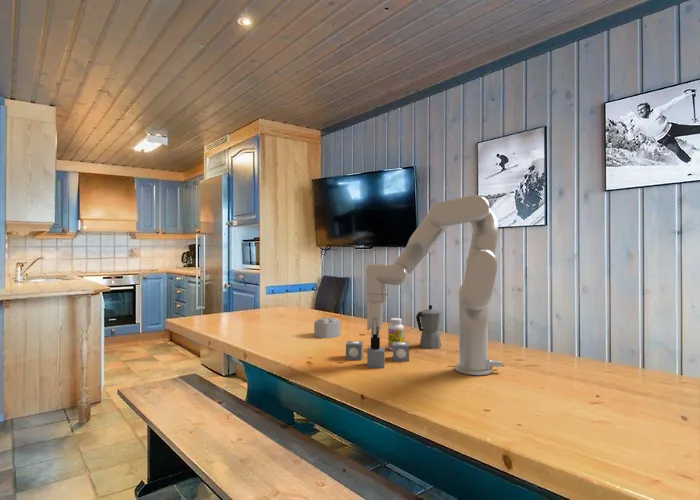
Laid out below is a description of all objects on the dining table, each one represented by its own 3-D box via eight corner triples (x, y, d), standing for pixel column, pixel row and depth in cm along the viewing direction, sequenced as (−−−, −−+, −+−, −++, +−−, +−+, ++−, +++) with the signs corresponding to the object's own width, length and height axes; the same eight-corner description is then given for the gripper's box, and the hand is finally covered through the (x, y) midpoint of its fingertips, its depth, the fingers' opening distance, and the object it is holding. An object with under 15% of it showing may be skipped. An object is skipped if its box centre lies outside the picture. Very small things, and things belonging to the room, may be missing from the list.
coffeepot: (431, 342, 194) (431, 302, 194) (448, 346, 186) (448, 304, 186) (408, 347, 184) (408, 305, 184) (425, 351, 177) (425, 308, 177)
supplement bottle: (385, 350, 180) (385, 319, 179) (391, 346, 185) (391, 317, 185) (400, 351, 176) (400, 320, 176) (406, 348, 182) (406, 318, 182)
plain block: (384, 363, 158) (384, 347, 158) (384, 368, 153) (384, 351, 153) (368, 363, 159) (368, 347, 159) (367, 367, 153) (367, 351, 153)
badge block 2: (408, 357, 167) (408, 341, 167) (409, 361, 161) (409, 345, 161) (393, 357, 168) (393, 341, 168) (393, 361, 162) (393, 345, 162)
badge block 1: (362, 356, 169) (362, 340, 169) (361, 360, 163) (361, 344, 163) (347, 355, 170) (347, 340, 170) (345, 360, 164) (345, 343, 164)
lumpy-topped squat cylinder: (311, 335, 209) (311, 318, 209) (332, 332, 218) (332, 315, 218) (324, 339, 201) (324, 320, 201) (345, 335, 210) (345, 318, 210)
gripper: (367, 295, 164) (366, 343, 164) (363, 300, 149) (363, 353, 149) (386, 296, 163) (386, 344, 163) (385, 300, 148) (384, 353, 148)
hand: (375, 348), depth 156 cm, fingers closed
